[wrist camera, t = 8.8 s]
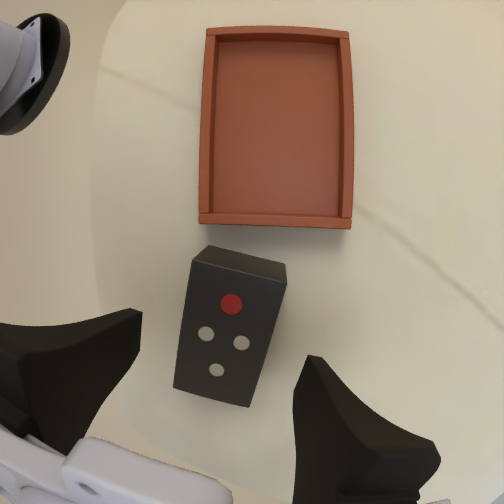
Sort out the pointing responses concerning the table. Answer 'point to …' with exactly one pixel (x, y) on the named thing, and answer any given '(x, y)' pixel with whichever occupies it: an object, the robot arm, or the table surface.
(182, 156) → the table surface
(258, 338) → the remote
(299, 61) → the dish
